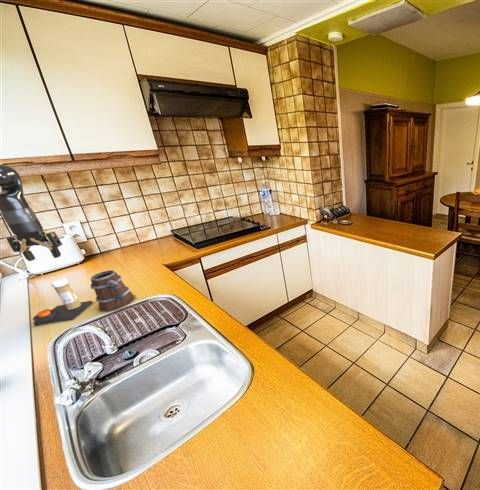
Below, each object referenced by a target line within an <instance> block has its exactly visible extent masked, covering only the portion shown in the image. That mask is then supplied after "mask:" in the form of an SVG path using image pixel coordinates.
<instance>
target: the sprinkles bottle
mask: <svg viewBox="0 0 480 490" xmlns="http://www.w3.org/2000/svg"><path fill="white" fill-rule="evenodd" d="M50 285H51V287H52V288H53V289H54V290H55V292H56V295H58V297H59V299H60V300H61V302H62V303H63V305H65V306H66V308H67V310H72V309H75V308H78V307H79V306H80V305H81V303H80V302H81V301H80V300H79V298H78V296H77V295H76V293H75V292H74V290H73V289H72V286H71V285H70V284H69V280H67V278H59V279H56V280H54V281H52V282H51V283H50Z"/></svg>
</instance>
